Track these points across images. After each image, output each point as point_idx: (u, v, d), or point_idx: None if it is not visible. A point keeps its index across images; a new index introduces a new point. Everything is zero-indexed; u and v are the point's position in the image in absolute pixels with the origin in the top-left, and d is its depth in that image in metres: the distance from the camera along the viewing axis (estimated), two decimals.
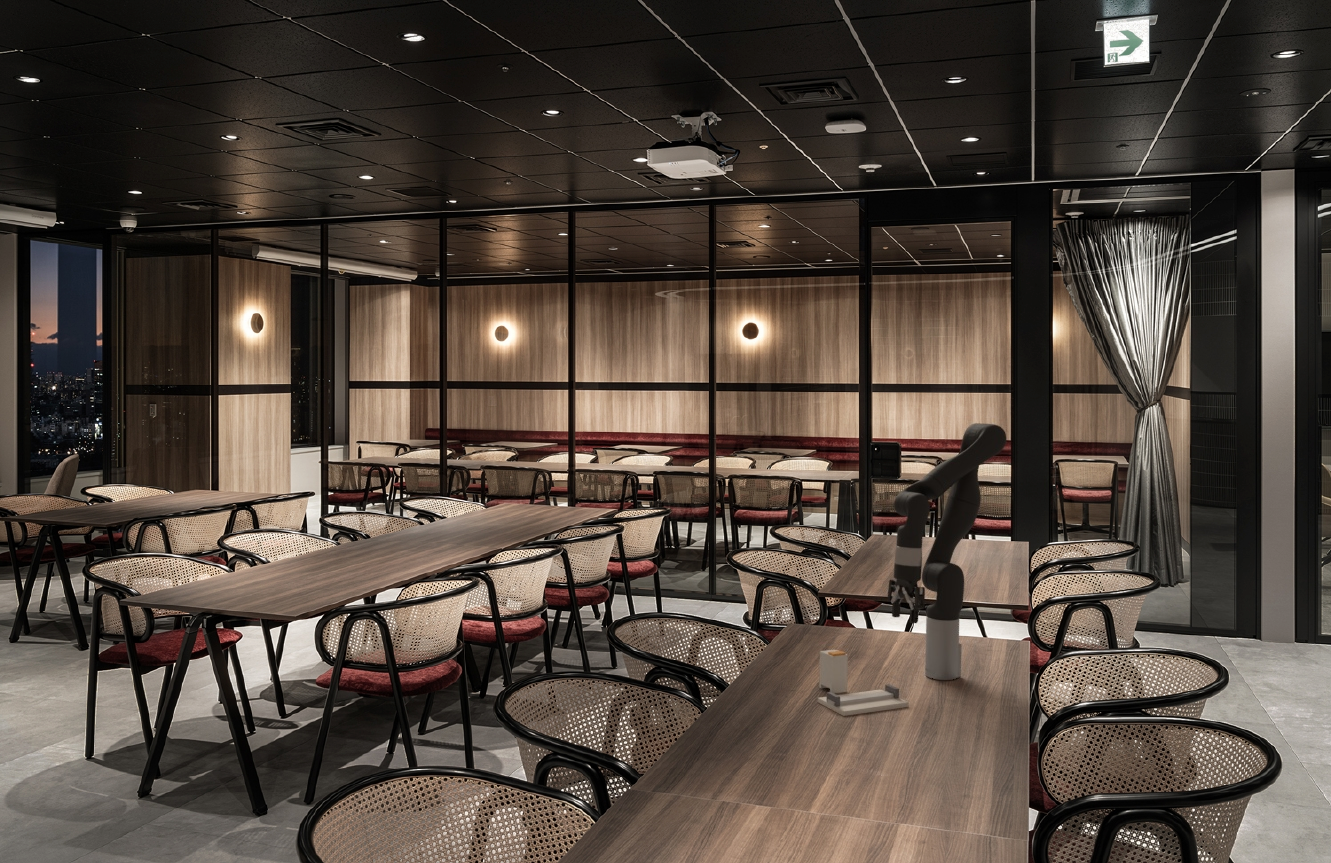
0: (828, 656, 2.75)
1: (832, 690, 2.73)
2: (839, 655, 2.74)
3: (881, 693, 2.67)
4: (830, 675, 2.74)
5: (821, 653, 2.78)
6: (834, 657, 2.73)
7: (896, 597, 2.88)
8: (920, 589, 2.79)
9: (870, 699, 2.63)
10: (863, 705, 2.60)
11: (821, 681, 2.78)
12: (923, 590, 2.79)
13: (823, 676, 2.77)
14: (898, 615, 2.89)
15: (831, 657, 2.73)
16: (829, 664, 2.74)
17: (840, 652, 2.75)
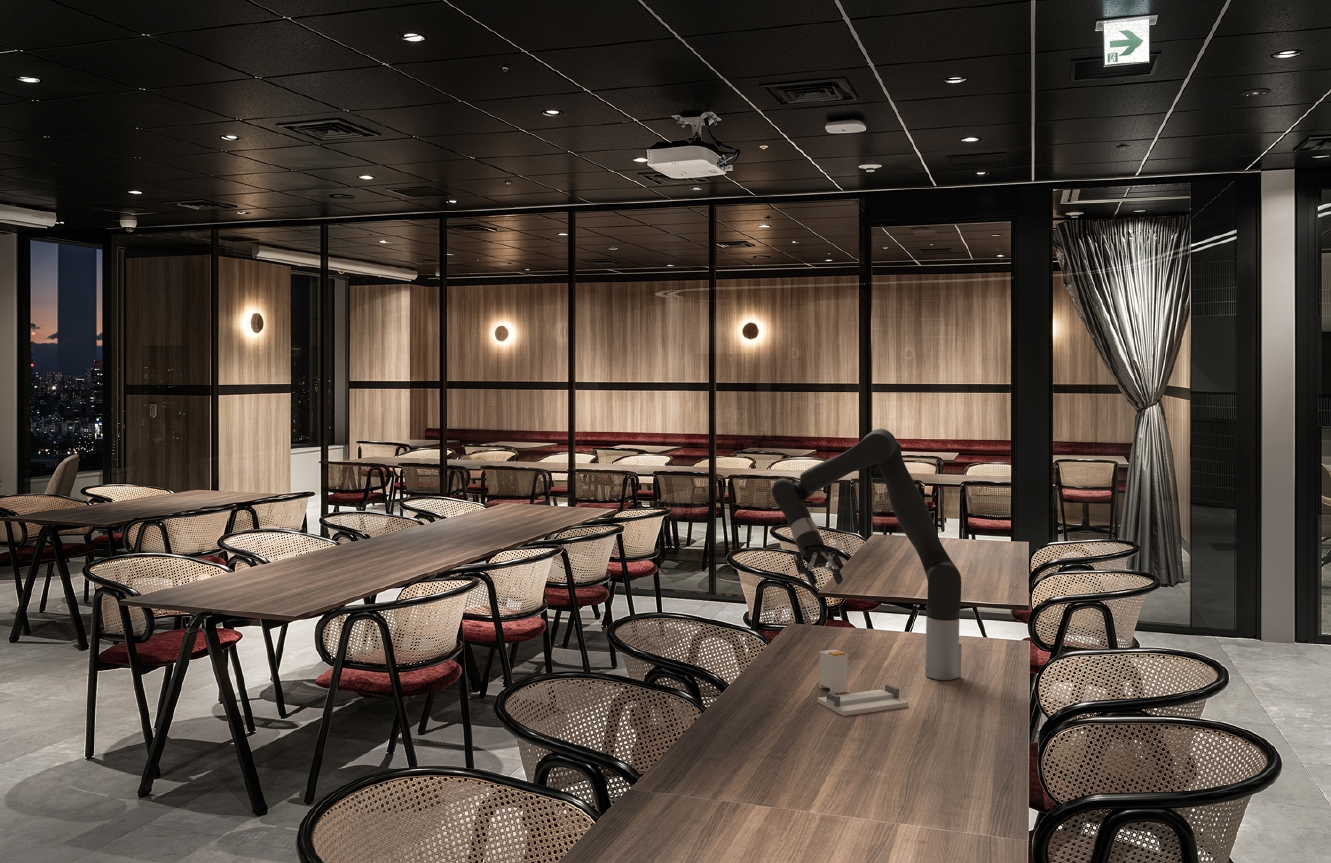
0: (828, 656, 2.75)
1: (832, 690, 2.73)
2: (839, 655, 2.74)
3: (881, 693, 2.67)
4: (830, 675, 2.74)
5: (821, 653, 2.78)
6: (834, 657, 2.73)
7: (826, 568, 2.92)
8: (794, 556, 2.90)
9: (870, 699, 2.63)
10: (863, 705, 2.60)
11: (821, 681, 2.78)
12: (796, 555, 2.89)
13: (823, 676, 2.77)
14: (839, 580, 2.88)
15: (831, 657, 2.73)
16: (829, 664, 2.74)
17: (840, 652, 2.75)
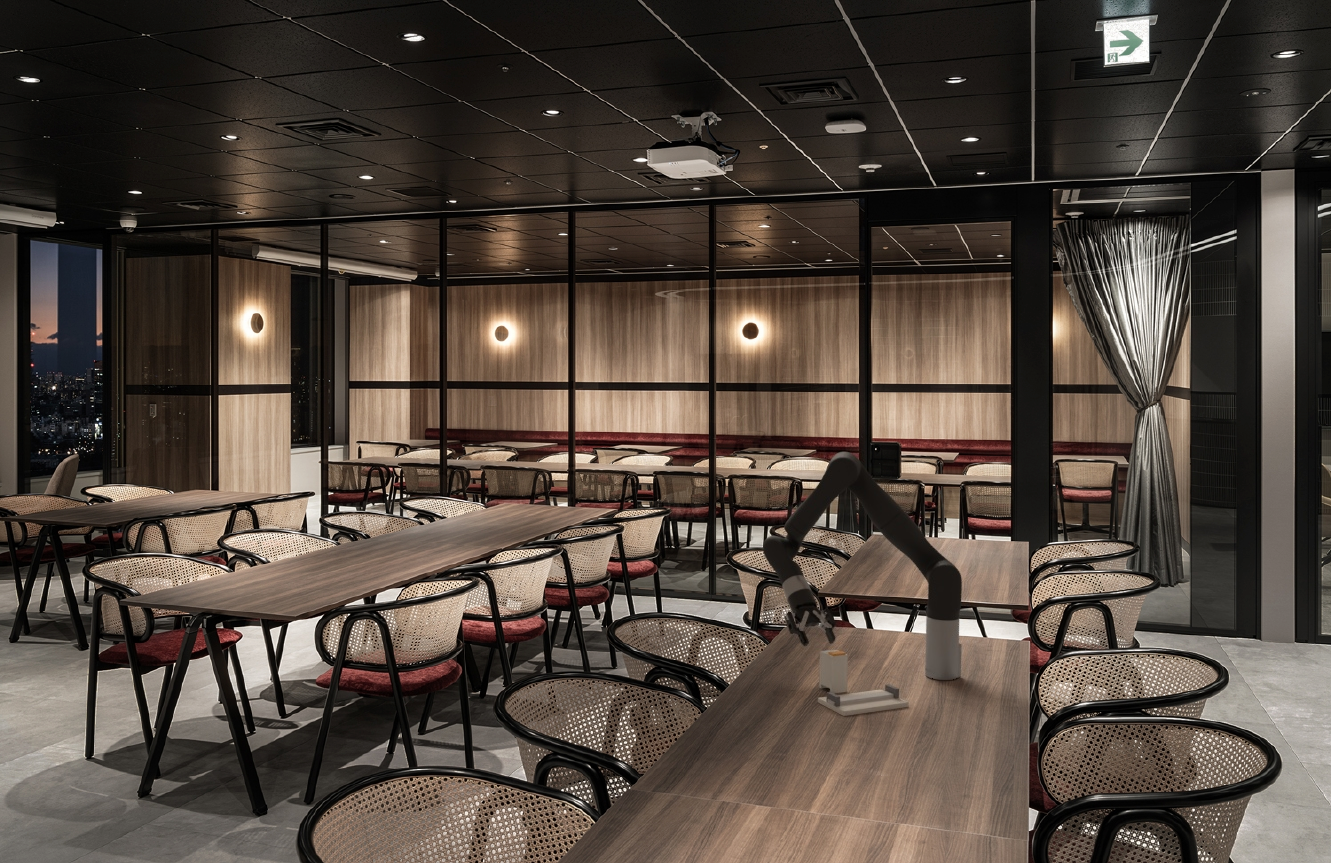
0: (828, 656, 2.75)
1: (832, 690, 2.73)
2: (839, 655, 2.74)
3: (881, 693, 2.67)
4: (830, 675, 2.74)
5: (821, 653, 2.78)
6: (834, 657, 2.73)
7: (819, 626, 2.89)
8: (786, 615, 2.87)
9: (870, 699, 2.63)
10: (863, 705, 2.60)
11: (821, 681, 2.78)
12: (787, 614, 2.86)
13: (823, 676, 2.77)
14: (831, 639, 2.85)
15: (831, 657, 2.73)
16: (829, 664, 2.74)
17: (840, 652, 2.75)
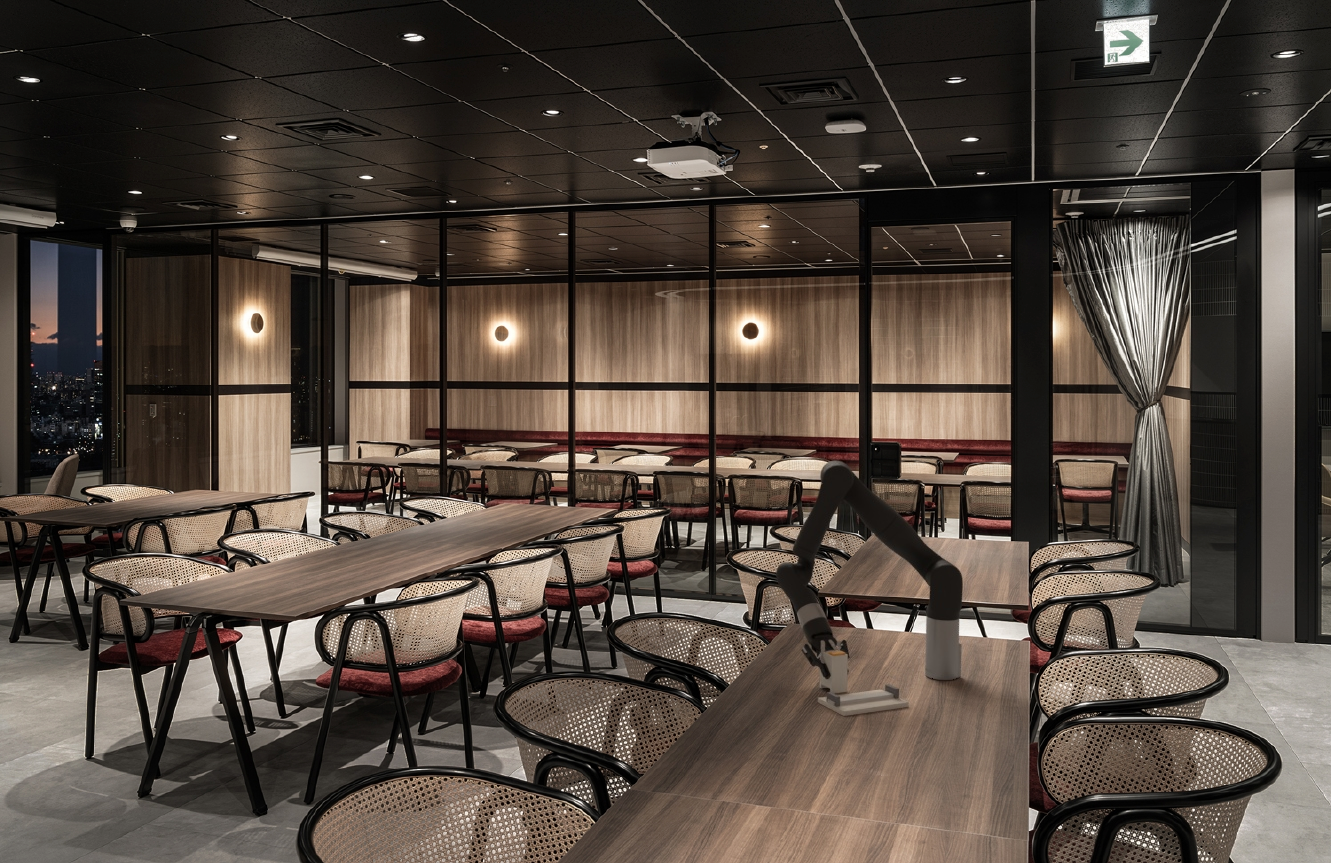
0: (828, 656, 2.75)
1: (832, 690, 2.73)
2: (839, 655, 2.74)
3: (881, 693, 2.67)
4: None
5: None
6: (834, 657, 2.73)
7: None
8: (803, 649, 2.79)
9: (870, 699, 2.63)
10: (863, 705, 2.60)
11: (821, 681, 2.78)
12: (805, 648, 2.78)
13: None
14: None
15: (831, 657, 2.73)
16: (829, 663, 2.74)
17: (840, 652, 2.75)
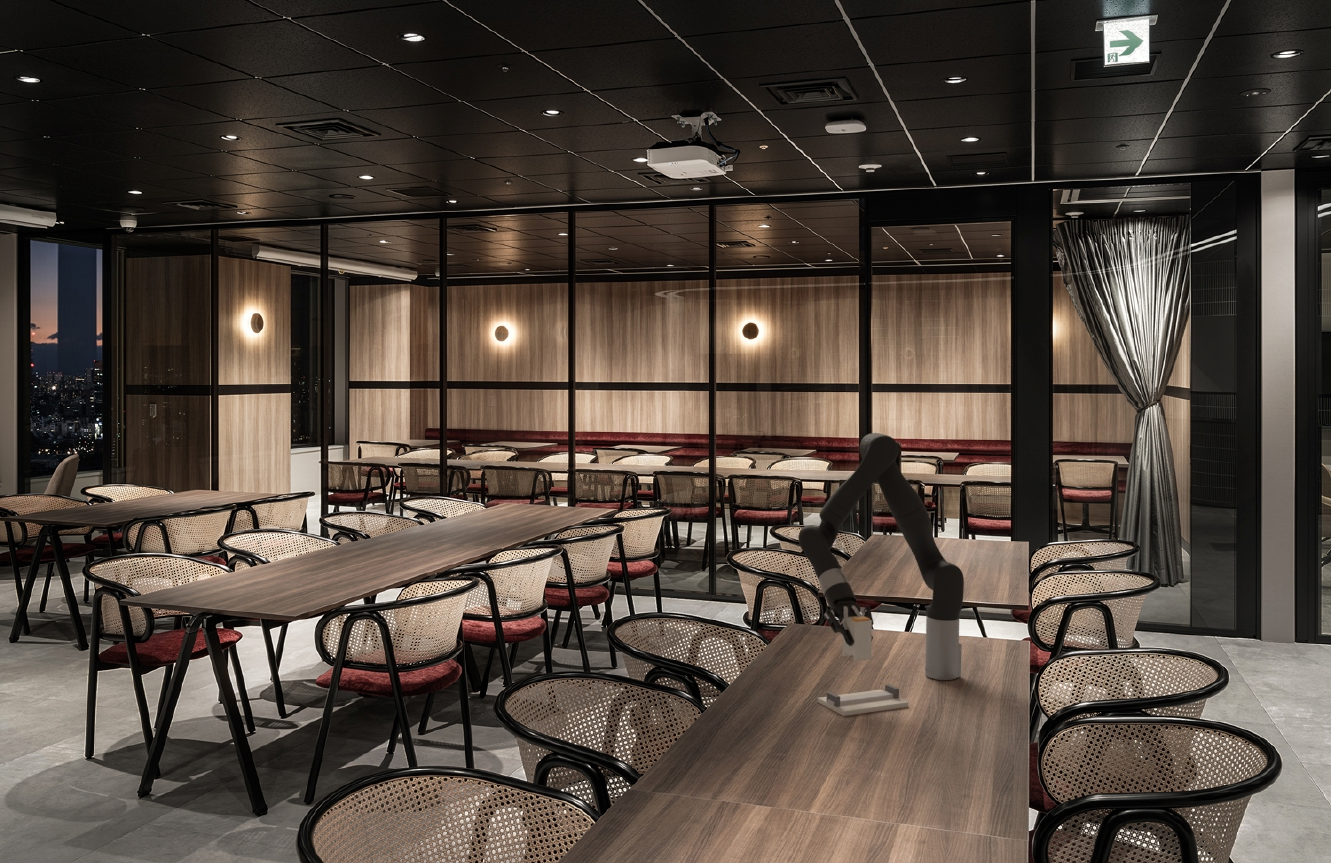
0: (851, 622, 2.64)
1: (856, 657, 2.63)
2: (863, 621, 2.64)
3: (881, 693, 2.67)
4: None
5: None
6: (858, 623, 2.63)
7: None
8: (825, 615, 2.68)
9: (870, 699, 2.63)
10: (863, 705, 2.60)
11: (844, 648, 2.67)
12: (827, 613, 2.67)
13: (846, 643, 2.66)
14: None
15: (854, 623, 2.63)
16: (852, 630, 2.64)
17: (864, 618, 2.65)
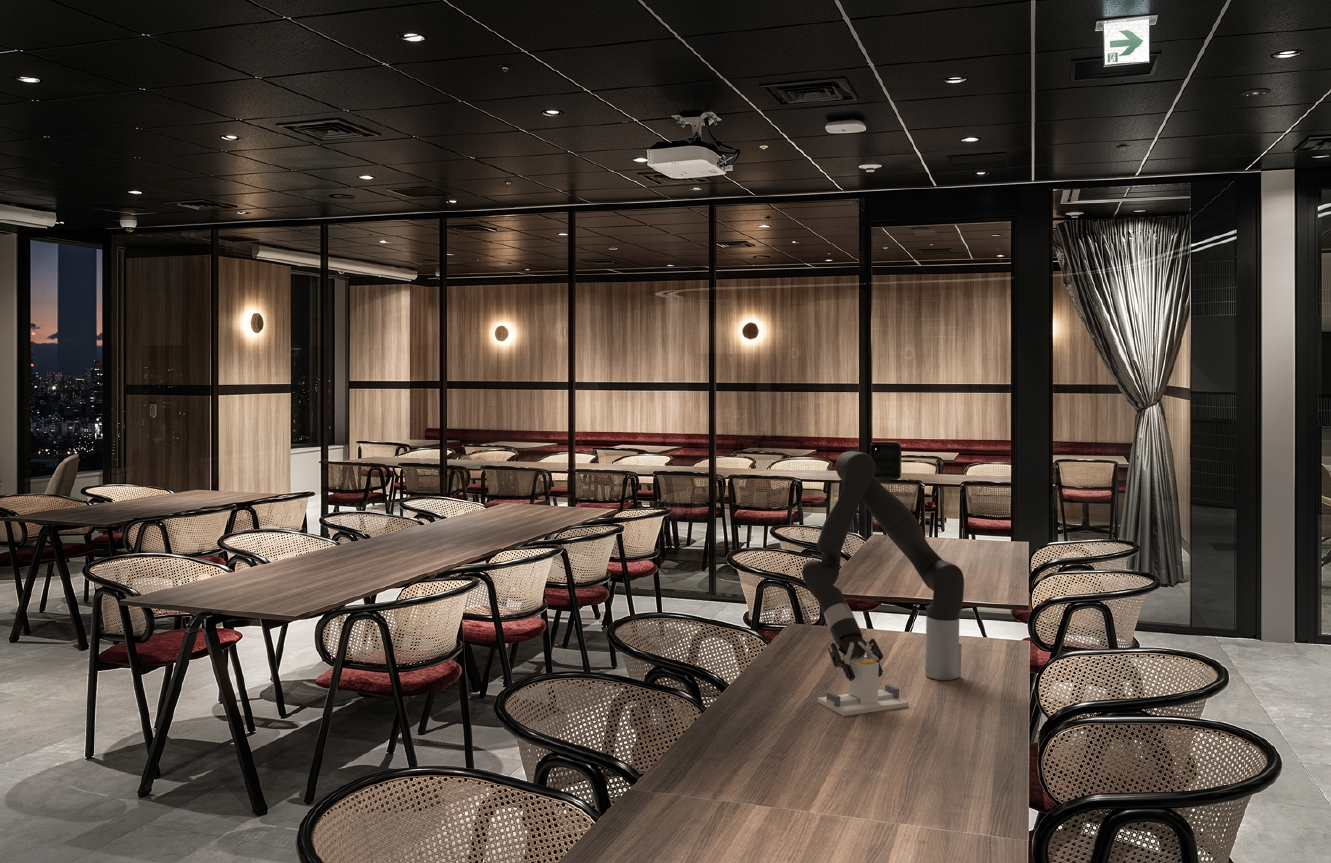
0: (858, 665, 2.62)
1: (862, 700, 2.61)
2: (870, 664, 2.61)
3: (881, 693, 2.67)
4: (860, 685, 2.61)
5: (850, 661, 2.65)
6: (865, 666, 2.61)
7: None
8: (829, 647, 2.66)
9: None
10: (863, 705, 2.60)
11: (850, 691, 2.65)
12: (831, 646, 2.65)
13: (853, 685, 2.64)
14: (879, 673, 2.64)
15: (861, 666, 2.61)
16: (859, 673, 2.61)
17: (871, 660, 2.63)
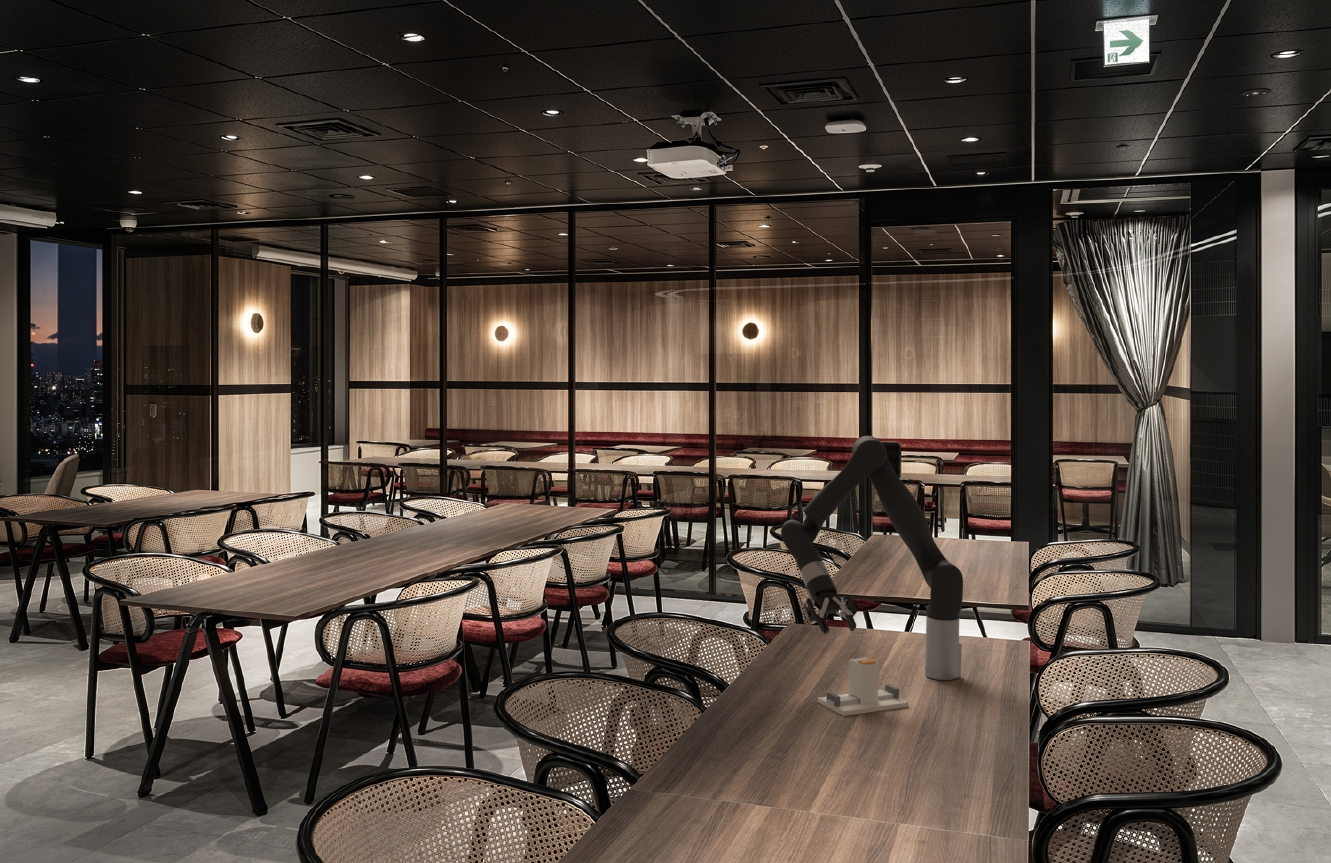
0: (858, 665, 2.62)
1: (862, 700, 2.61)
2: (870, 664, 2.61)
3: (881, 693, 2.67)
4: (860, 685, 2.61)
5: (850, 661, 2.65)
6: (865, 666, 2.61)
7: (839, 614, 2.79)
8: (805, 602, 2.77)
9: None
10: (863, 705, 2.60)
11: (850, 691, 2.65)
12: (807, 601, 2.76)
13: (853, 685, 2.64)
14: (852, 626, 2.75)
15: (861, 666, 2.61)
16: (859, 673, 2.61)
17: (871, 660, 2.63)
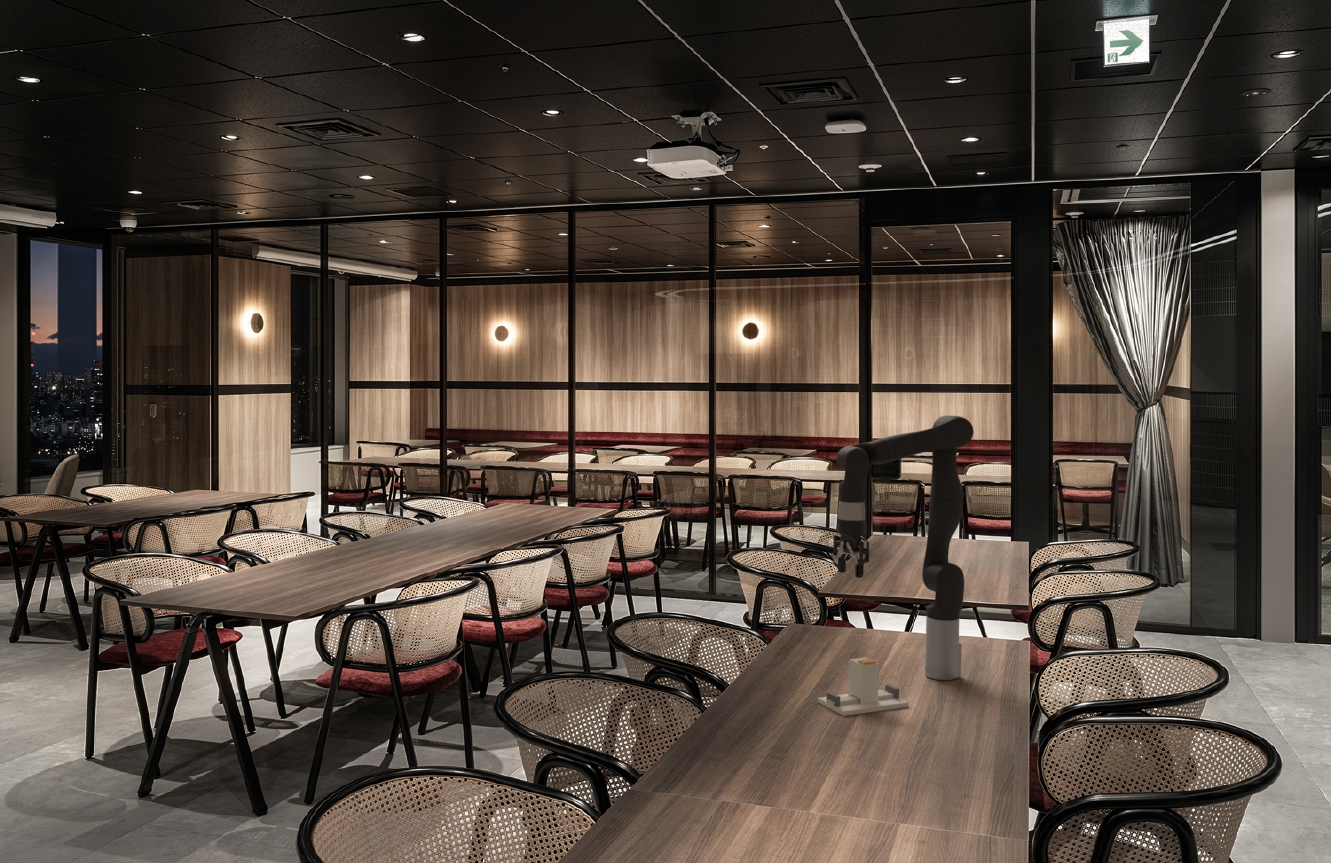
0: (858, 665, 2.62)
1: (862, 700, 2.61)
2: (870, 664, 2.61)
3: (881, 693, 2.67)
4: (860, 685, 2.61)
5: (850, 661, 2.65)
6: (865, 666, 2.61)
7: (841, 552, 2.87)
8: (864, 543, 2.78)
9: None
10: (863, 705, 2.60)
11: (850, 691, 2.65)
12: (867, 544, 2.79)
13: (853, 685, 2.64)
14: (844, 570, 2.89)
15: (861, 666, 2.61)
16: (859, 673, 2.61)
17: (871, 660, 2.63)
